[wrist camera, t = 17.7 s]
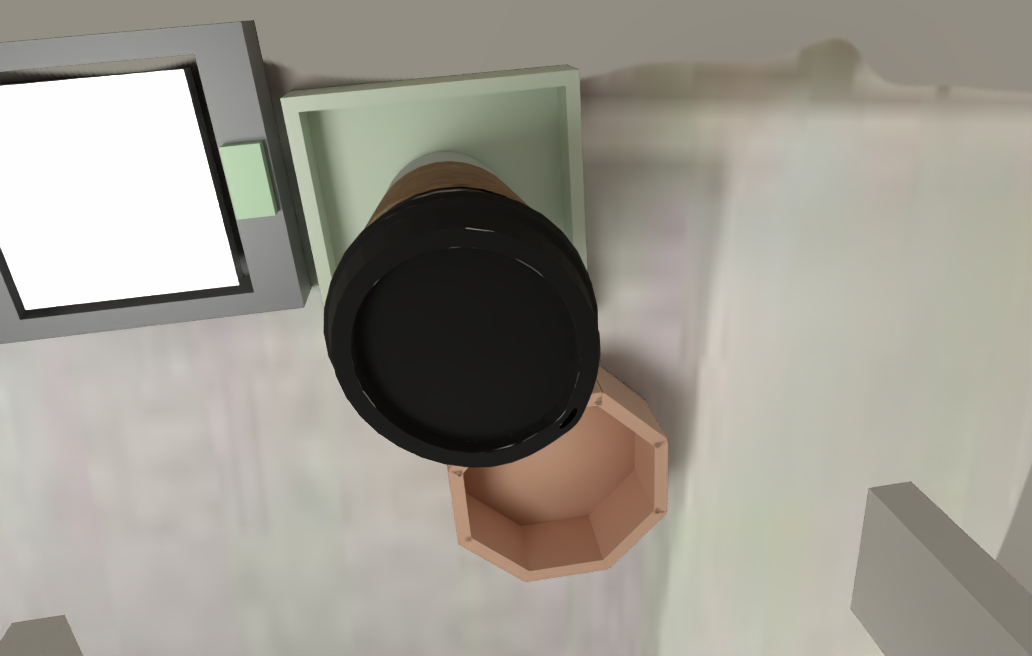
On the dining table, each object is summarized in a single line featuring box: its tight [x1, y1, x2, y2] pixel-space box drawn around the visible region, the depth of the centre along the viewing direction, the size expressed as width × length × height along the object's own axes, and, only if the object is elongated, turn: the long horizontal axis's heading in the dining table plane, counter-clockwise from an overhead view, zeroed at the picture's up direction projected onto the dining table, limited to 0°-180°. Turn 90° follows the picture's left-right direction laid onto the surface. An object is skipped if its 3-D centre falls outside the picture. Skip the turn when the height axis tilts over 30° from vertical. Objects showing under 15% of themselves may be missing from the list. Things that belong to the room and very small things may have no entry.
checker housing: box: [0, 20, 311, 344], centre depth 30 cm, size 14×12×3 cm
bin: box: [447, 366, 668, 582], centre depth 39 cm, size 11×11×4 cm
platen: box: [0, 67, 244, 310], centre depth 30 cm, size 9×9×1 cm
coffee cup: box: [324, 152, 601, 468], centre depth 27 cm, size 8×8×15 cm
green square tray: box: [280, 64, 587, 307], centre depth 33 cm, size 12×12×3 cm
